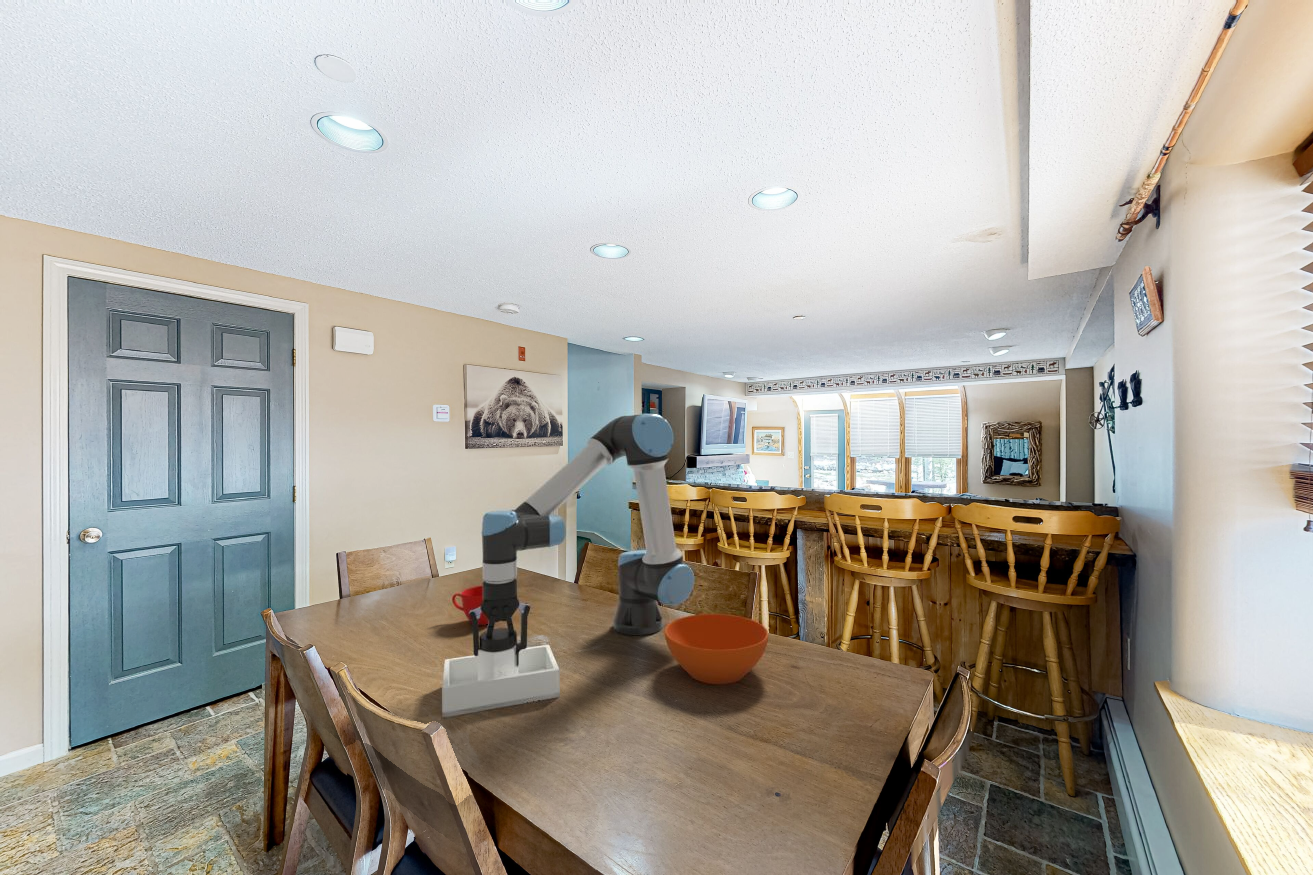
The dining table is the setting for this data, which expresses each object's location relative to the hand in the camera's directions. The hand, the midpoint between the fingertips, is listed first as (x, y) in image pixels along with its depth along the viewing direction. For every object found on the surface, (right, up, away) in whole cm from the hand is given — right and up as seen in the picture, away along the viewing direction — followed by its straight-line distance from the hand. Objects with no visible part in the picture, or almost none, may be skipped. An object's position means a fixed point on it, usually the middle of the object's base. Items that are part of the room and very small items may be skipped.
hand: (500, 682), depth 117 cm
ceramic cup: (-22, -3, +47) cm, 52 cm away
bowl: (+50, -2, +9) cm, 51 cm away
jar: (0, -1, 0) cm, 1 cm away
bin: (0, -2, 0) cm, 2 cm away
